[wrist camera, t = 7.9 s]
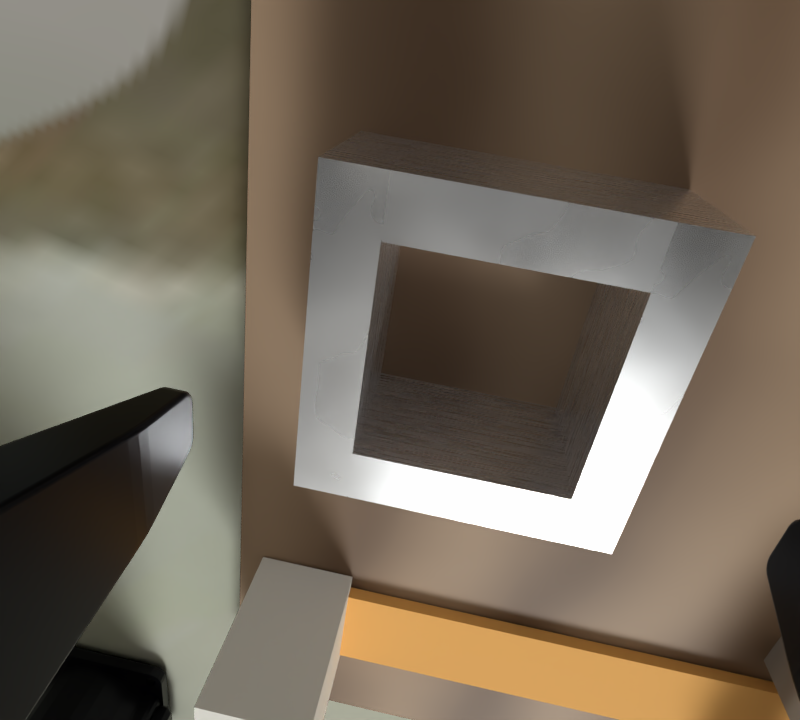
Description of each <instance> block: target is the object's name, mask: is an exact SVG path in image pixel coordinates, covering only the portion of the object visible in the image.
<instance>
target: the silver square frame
mask: <svg viewBox="0 0 800 720" xmlns="http://www.w3.org/2000/svg"><path fill="white" fill-rule="evenodd" d="M755 237H756V236H755V235H753V234H752V233H750V232H749V231H748V230H746V229H745V228H743V227H742V226H741V225H739V224H738V223H736V222H735V221H734V220H732V219H731V218H729V217H728V216H727V215H725V214H724V213H722V212H721V211H720V210H718V209H717V208H715V207H714V206H713V205H711V204H710V203H708V202H707V201H706V200H704V199H703V198H701V197H700V196H699V195H697V194H696V193H694V192H693V191H692V190H690V189H684V188H679V187H673V186H668V185H662V184H656V183H651V182H645V181H639V180H634V179H628V178H623V177H617V176H611V175H606V174H600V173H595V172H589V171H583V170H578V169H572V168H566V167H561V166H555V165H550V164H544V163H538V162H533V161H527V160H522V159H516V158H510V157H505V156H499V155H494V154H488V153H482V152H477V151H471V150H465V149H460V148H454V147H449V146H443V145H437V144H432V143H426V142H421V141H415V140H409V139H404V138H398V137H392V136H387V135H381V134H376V133H370V132H364V131H361V132H359V133H357V134H356V135H354V136H352V137H351V138H349V139H347V140H346V141H344V142H342V143H341V144H339V145H337V146H336V147H334V148H332V149H331V150H329V151H327V152H326V153H324V154H322V155H321V156H319V157H318V166H317V180H316V193H315V206H314V219H313V233H312V246H311V259H310V273H309V286H308V299H307V313H306V326H305V339H304V353H303V366H302V379H301V393H300V406H299V419H298V433H297V446H296V459H295V473H294V486H299V487H303V488H308V489H313V490H317V491H322V492H327V493H331V494H336V495H341V496H345V497H350V498H354V499H359V500H364V501H368V502H373V503H378V504H382V505H387V506H392V507H396V508H401V509H406V510H410V511H415V512H420V513H424V514H429V515H433V516H438V517H443V518H447V519H452V520H457V521H461V522H466V523H471V524H475V525H480V526H485V527H489V528H494V529H499V530H503V531H508V532H513V533H517V534H522V535H526V536H531V537H536V538H540V539H545V540H550V541H554V542H559V543H564V544H568V545H573V546H578V547H582V548H587V549H592V550H596V551H601V552H605V553H610V554H612V552H613V550H614V548H615V545H616V543H617V541H618V539H619V537H620V534H621V532H622V530H623V528H624V526H625V523H626V521H627V519H628V517H629V515H630V512H631V510H632V508H633V506H634V504H635V501H636V499H637V497H638V495H639V493H640V490H641V488H642V486H643V484H644V482H645V479H646V477H647V475H648V473H649V471H650V468H651V466H652V464H653V462H654V460H655V457H656V455H657V453H658V451H659V449H660V446H661V444H662V442H663V440H664V438H665V435H666V433H667V431H668V429H669V427H670V424H671V422H672V420H673V418H674V416H675V413H676V411H677V409H678V407H679V405H680V402H681V400H682V398H683V396H684V394H685V391H686V389H687V387H688V385H689V383H690V380H691V378H692V376H693V374H694V372H695V369H696V367H697V365H698V363H699V361H700V358H701V356H702V354H703V352H704V350H705V347H706V345H707V343H708V341H709V339H710V336H711V334H712V332H713V330H714V328H715V325H716V323H717V321H718V319H719V317H720V314H721V312H722V310H723V308H724V306H725V303H726V301H727V299H728V297H729V295H730V292H731V290H732V288H733V286H734V284H735V281H736V279H737V277H738V275H739V273H740V270H741V268H742V266H743V264H744V262H745V259H746V257H747V255H748V253H749V251H750V248H751V246H752V244H753V242H754V240H755ZM400 246H406V247H411V248H416V249H422V250H427V251H432V252H438V253H443V254H448V255H453V256H459V257H464V258H469V259H475V260H480V261H485V262H490V263H496V264H501V265H506V266H512V267H517V268H522V269H528V270H533V271H538V272H543V273H549V274H554V275H559V276H565V277H570V278H575V279H580V280H586V281H591V282H596V283H598V284H597V287H596V290H595V293H594V296H593V299H592V302H591V305H590V308H589V311H588V314H587V317H586V320H585V323H584V326H583V329H582V332H581V335H580V338H579V341H578V344H577V347H576V350H575V353H574V356H573V359H572V362H571V365H570V368H569V371H568V374H567V377H566V380H565V383H564V386H563V389H562V392H561V395H560V398H559V401H558V404H557V407H556V408H553V407H548V406H543V405H538V404H533V403H528V402H523V401H518V400H514V399H509V398H504V397H499V396H494V395H489V394H484V393H479V392H474V391H469V390H464V389H459V388H454V387H449V386H444V385H439V384H434V383H429V382H424V381H419V380H415V379H410V378H405V377H400V376H395V375H390V374H385V373H381V371H382V365H383V358H384V351H385V345H386V338H387V332H388V325H389V319H390V312H391V305H392V299H393V292H394V286H395V279H396V272H397V266H398V259H399V253H400Z"/></svg>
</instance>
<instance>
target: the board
mask: <svg viewBox="0 0 800 720" xmlns="http://www.w3.org/2000/svg"><path fill="white" fill-rule="evenodd" d="M361 131H364V132H370V133H376V134H381V135H387V136H392V137H398V138H404V139H409V140H415V141H421V142H426V143H432V144H437V145H443V146H449V147H454V148H460V149H465V150H471V151H477V152H482V153H488V154H494V155H499V156H505V157H510V158H516V159H522V160H527V161H533V162H538V163H544V164H550V165H555V166H561V167H566V168H572V169H578V170H583V171H589V172H595V173H600V174H606V175H611V176H617V177H623V178H628V179H634V180H639V181H645V182H651V183H656V184H662V185H668V186H673V187H679V188H684V189H690V190H692V191H693V192H694V193H696V194H697V195H699V196H700V197H701V198H703V199H704V200H706V201H707V202H708V203H710V204H711V205H713V206H714V207H715V208H717V209H718V210H720V211H721V212H722V213H724V214H725V215H727V216H728V217H729V218H731V219H732V220H734V221H735V222H736V223H738V224H739V225H741V226H742V227H743V228H745V229H746V230H748V231H749V232H750V233H752V234H753V235H755V236H756V237H755V240H754V242H753V244H752V246H751V248H750V251H749V253H748V255H747V257H746V259H745V262H744V264H743V266H742V268H741V270H740V273H739V275H738V277H737V279H736V281H735V284H734V286H733V288H732V290H731V292H730V295H729V297H728V299H727V301H726V303H725V306H724V308H723V310H722V312H721V314H720V317H719V319H718V321H717V323H716V325H715V328H714V330H713V332H712V334H711V336H710V339H709V341H708V343H707V345H706V347H705V350H704V352H703V354H702V356H701V358H700V361H699V363H698V365H697V367H696V369H695V372H694V374H693V376H692V378H691V380H690V383H689V385H688V387H687V389H686V391H685V394H684V396H683V398H682V400H681V402H680V405H679V407H678V409H677V411H676V413H675V416H674V418H673V420H672V422H671V424H670V427H669V429H668V431H667V433H666V435H665V438H664V440H663V442H662V444H661V446H660V449H659V451H658V453H657V455H656V457H655V460H654V462H653V464H652V466H651V468H650V471H649V473H648V475H647V477H646V479H645V482H644V484H643V486H642V488H641V490H640V493H639V495H638V497H637V499H636V501H635V504H634V506H633V508H632V510H631V512H630V515H629V517H628V519H627V521H626V523H625V526H624V528H623V530H622V532H621V534H620V537H619V539H618V541H617V543H616V545H615V548H614V550H613V552H612V554H610V553H605V552H601V551H596V550H592V549H587V548H582V547H578V546H573V545H568V544H564V543H559V542H554V541H550V540H545V539H540V538H536V537H531V536H526V535H522V534H517V533H513V532H508V531H503V530H499V529H494V528H489V527H485V526H480V525H475V524H471V523H466V522H461V521H457V520H452V519H447V518H443V517H438V516H433V515H429V514H424V513H420V512H415V511H410V510H406V509H401V508H396V507H392V506H387V505H382V504H378V503H373V502H368V501H364V500H359V499H354V498H350V497H345V496H341V495H336V494H331V493H327V492H322V491H317V490H313V489H308V488H303V487H299V486H294V473H295V459H296V446H297V433H298V419H299V406H300V393H301V379H302V366H303V353H304V339H305V326H306V313H307V299H308V286H309V273H310V259H311V246H312V233H313V219H314V206H315V193H316V180H317V166H318V157H319V156H321V155H322V154H324V153H326V152H327V151H329V150H331V149H332V148H334V147H336V146H337V145H339V144H341V143H342V142H344V141H346V140H347V139H349V138H351V137H352V136H354V135H356V134H357V133H359V132H361ZM597 284H598V283H596V282H591V281H586V280H580V279H575V278H570V277H565V276H559V275H554V274H549V273H543V272H538V271H533V270H528V269H522V268H517V267H512V266H506V265H501V264H496V263H490V262H485V261H480V260H475V259H469V258H464V257H459V256H453V255H448V254H443V253H438V252H432V251H427V250H422V249H416V248H411V247H406V246H400V253H399V259H398V266H397V272H396V279H395V286H394V292H393V299H392V305H391V312H390V319H389V325H388V332H387V338H386V345H385V351H384V358H383V365H382V371H381V373H385V374H390V375H395V376H400V377H405V378H410V379H415V380H419V381H424V382H429V383H434V384H439V385H444V386H449V387H454V388H459V389H464V390H469V391H474V392H479V393H484V394H489V395H494V396H499V397H504V398H509V399H514V400H518V401H523V402H528V403H533V404H538V405H543V406H548V407H553V408H556V407H557V404H558V401H559V398H560V395H561V392H562V389H563V386H564V383H565V380H566V377H567V374H568V371H569V368H570V365H571V362H572V359H573V356H574V353H575V350H576V347H577V344H578V341H579V338H580V335H581V332H582V329H583V326H584V323H585V320H586V317H587V314H588V311H589V308H590V305H591V302H592V299H593V296H594V293H595V290H596V287H597ZM798 519H800V0H251V49H250V101H249V153H248V205H247V257H246V309H245V361H244V413H243V465H242V517H241V569H240V606H241V604H242V602H243V600H244V598H245V595H246V593H247V591H248V589H249V587H250V585H251V582H252V580H253V578H254V576H255V574H256V571H257V569H258V567H259V565H260V563H261V561H262V558H263V557H266V558H270V559H275V560H279V561H284V562H288V563H293V564H297V565H302V566H306V567H311V568H315V569H320V570H324V571H329V572H333V573H338V574H342V575H347V576H351V577H352V584H351V587H352V588H357V589H361V590H365V591H370V592H374V593H379V594H383V595H388V596H392V597H397V598H401V599H406V600H410V601H415V602H419V603H423V604H428V605H432V606H437V607H441V608H446V609H450V610H455V611H459V612H464V613H468V614H473V615H477V616H481V617H486V618H490V619H495V620H499V621H504V622H508V623H513V624H517V625H522V626H526V627H531V628H535V629H539V630H544V631H548V632H553V633H557V634H562V635H566V636H571V637H575V638H580V639H584V640H589V641H593V642H597V643H602V644H606V645H611V646H615V647H620V648H624V649H629V650H633V651H638V652H642V653H647V654H651V655H655V656H660V657H664V658H669V659H673V660H678V661H682V662H687V663H691V664H696V665H700V666H705V667H709V668H714V669H718V670H722V671H727V672H731V673H736V674H740V675H745V676H749V677H754V678H758V679H763V680H767V681H772V682H773V683H774V685H775V687H776V689H777V692H778V694H779V696H780V699H781V701H782V703H783V705H784V708H785V710H786V712H787V714H788V717H789V719H790V720H800V702H799V699H798V696H797V693H796V690H795V687H794V683H793V680H792V677H791V673H790V670H789V666H788V662H787V658H786V654H785V650H784V646H783V642H782V637H781V633H780V629H779V625H778V621H777V616H776V612H775V608H774V604H773V599H772V595H771V591H770V587H769V583H768V578H767V572H766V567H767V562H768V558H769V556H770V555H771V553H772V552H773V550H774V548H775V547H776V545H777V544H778V542H779V541H780V539H781V537H782V536H783V534H784V533H785V531H786V530H787V528H788V526H789V525H790V524H791V523H792V522H793V521H795V520H798ZM329 700H331V701H335V702H339V703H344V704H348V705H352V706H356V707H361V708H365V709H369V710H373V711H378V712H382V713H386V714H390V715H394V716H399V717H403V718H407V719H411V720H618V719H614V718H610V717H605V716H601V715H597V714H592V713H588V712H584V711H579V710H575V709H571V708H567V707H562V706H558V705H554V704H549V703H545V702H541V701H536V700H532V699H528V698H523V697H519V696H515V695H510V694H506V693H502V692H497V691H493V690H489V689H484V688H480V687H476V686H471V685H467V684H463V683H458V682H454V681H450V680H445V679H441V678H437V677H432V676H428V675H424V674H419V673H415V672H411V671H406V670H402V669H398V668H393V667H389V666H385V665H380V664H376V663H372V662H368V661H363V660H359V659H355V658H350V657H346V656H342V655H340V658H339V662H338V666H337V670H336V674H335V678H334V682H333V685H332V689H331V693H330V697H329Z"/></svg>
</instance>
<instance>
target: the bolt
mask: <svg viewBox="0 0 800 720" xmlns="http://www.w3.org/2000/svg"><path fill="white" fill-rule="evenodd" d="M351 584H352V577H351V576H347V575H342V574H338V573H333V572H329V571H324V570H320V569H315V568H311V567H306V566H302V565H297V564H293V563H288V562H284V561H279V560H275V559H270V558H266V557H263V558H262V561H261V563H260V565H259V567H258V569H257V571H256V574H255V576H254V578H253V580H252V582H251V585H250V587H249V589H248V591H247V593H246V595H245V598H244V600H243V602H242V604H241V606H240V608H239V611H238V613H237V615H236V617H235V619H234V621H233V624H232V626H231V628H230V630H229V632H228V635H227V637H226V639H225V641H224V643H223V645H222V648H221V650H220V652H219V654H218V656H217V658H216V661H215V663H214V665H213V667H212V669H211V671H210V674H209V676H208V678H207V680H206V682H205V685H204V687H203V689H202V691H201V693H200V695H199V698H198V700H197V702H196V704H195V706H194V719H195V720H324V717H325V713H326V709H327V705H328V701H329V697H330V693H331V689H332V685H333V682H334V678H335V674H336V670H337V666H338V662H339V658H340V655H342V656H346V657H350V658H355V659H359V660H363V661H368V662H372V663H376V664H380V665H385V666H389V667H393V668H398V669H402V670H406V671H411V672H415V673H419V674H424V675H428V676H432V677H437V678H441V679H445V680H450V681H454V682H458V683H463V684H467V685H471V686H476V687H480V688H484V689H489V690H493V691H497V692H502V693H506V694H510V695H515V696H519V697H523V698H528V699H532V700H536V701H541V702H545V703H549V704H554V705H558V706H562V707H567V708H571V709H575V710H579V711H584V712H588V713H592V714H597V715H601V716H605V717H610V718H614V719H618V720H790V719H789V717H788V714H787V712H786V710H785V708H784V705H783V703H782V701H781V699H780V696H779V694H778V692H777V689H776V687H775V685H774V683H773V682H772V681H767V680H763V679H758V678H754V677H749V676H745V675H740V674H736V673H731V672H727V671H722V670H718V669H714V668H709V667H705V666H700V665H696V664H691V663H687V662H682V661H678V660H673V659H669V658H664V657H660V656H655V655H651V654H647V653H642V652H638V651H633V650H629V649H624V648H620V647H615V646H611V645H606V644H602V643H597V642H593V641H589V640H584V639H580V638H575V637H571V636H566V635H562V634H557V633H553V632H548V631H544V630H539V629H535V628H531V627H526V626H522V625H517V624H513V623H508V622H504V621H499V620H495V619H490V618H486V617H481V616H477V615H473V614H468V613H464V612H459V611H455V610H450V609H446V608H441V607H437V606H432V605H428V604H423V603H419V602H415V601H410V600H406V599H401V598H397V597H392V596H388V595H383V594H379V593H374V592H370V591H365V590H361V589H357V588H352V587H351Z"/></svg>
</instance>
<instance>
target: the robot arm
mask: <svg viewBox="0 0 800 720" xmlns="http://www.w3.org/2000/svg"><path fill="white" fill-rule="evenodd" d="M192 443H193V404H192V398H191V395H190V394H189V393H188V392H186V391H182V390H177V389H172V388H167V387H162V388H159V389H156V390H153V391H151V392H148V393H145V394H142V395H140V396H137V397H134V398H131V399H129V400H126V401H123V402H120V403H118V404H115V405H112V406H109V407H106V408H104V409H101V410H98V411H95V412H93V413H90V414H87V415H84V416H82V417H79V418H76V419H73V420H71V421H68V422H65V423H62V424H60V425H57V426H54V427H51V428H48V429H46V430H43V431H40V432H37V433H35V434H32V435H29V436H26V437H24V438H21V439H18V440H15V441H13V442H10V443H7V444H4V445H2V446H0V720H172V713H171V711H170V708H169V704H168V691H167V679H166V674H165V672H164V671H163V670H162V669H160V668H158V667H155V666H151V665H147V664H143V663H139V662H135V661H130V660H126V659H122V658H118V657H113V656H109V655H105V654H101V653H96V652H92V651H88V650H84V649H80V648H75V647H74V646H75V644H76V643H77V641H78V640H79V638H80V637H81V635H82V633H83V632H84V630H85V629H86V627H87V626H88V624H89V623H90V621H91V620H92V618H93V617H94V615H95V614H96V612H97V611H98V609H99V608H100V606H101V605H102V603H103V602H104V600H105V599H106V597H107V596H108V594H109V592H110V591H111V589H112V588H113V586H114V585H115V583H116V582H117V580H118V579H119V577H120V576H121V574H122V573H123V571H124V570H125V568H126V567H127V565H128V564H129V562H130V561H131V559H132V558H133V556H134V554H135V553H136V551H137V550H138V548H139V547H140V545H141V544H142V542H143V540H144V539H145V537H146V536H147V534H148V532H149V530H150V528H151V527H152V525H153V523H154V521H155V519H156V517H157V515H158V513H159V511H160V509H161V507H162V505H163V503H164V501H165V499H166V497H167V495H168V493H169V491H170V489H171V487H172V486H173V484H174V482H175V480H176V478H177V476H178V474H179V472H180V470H181V468H182V466H183V464H184V462H185V460H186V458H187V456H188V454H189V452H190V450H191V447H192ZM766 572H767V578H768V583H769V587H770V591H771V595H772V599H773V604H774V608H775V612H776V616H777V621H778V625H779V629H780V633H781V637H782V642H783V646H784V650H785V654H786V658H787V662H788V666H789V670H790V673H791V677H792V680H793V683H794V687H795V690H796V693H797V696H798V699H799V702H800V519H798V520H795V521H793V522H792V523H791V524H790V525H789V526H788V528H787V530H786V531H785V533H784V534H783V536H782V537H781V539H780V541H779V542H778V544H777V545H776V547H775V548H774V550H773V552H772V553H771V555H770V556H769V558H768V562H767V567H766Z"/></svg>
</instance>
